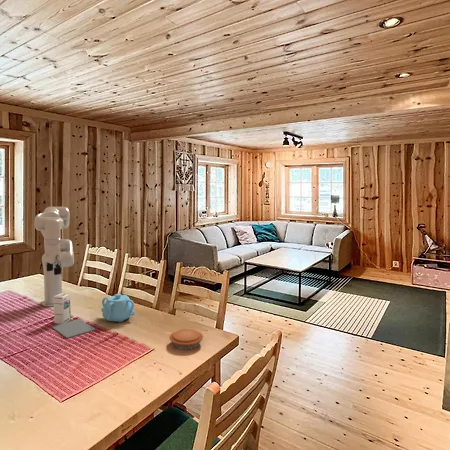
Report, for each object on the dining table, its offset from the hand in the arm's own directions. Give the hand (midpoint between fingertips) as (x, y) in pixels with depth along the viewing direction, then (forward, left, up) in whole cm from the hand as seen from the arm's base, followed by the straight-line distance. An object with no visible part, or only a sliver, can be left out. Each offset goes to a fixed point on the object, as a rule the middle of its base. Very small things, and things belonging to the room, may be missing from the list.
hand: (53, 272), depth 181 cm
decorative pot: (+27, +23, -24) cm, 43 cm away
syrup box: (+11, 0, -24) cm, 27 cm away
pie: (+76, +29, -25) cm, 85 cm away
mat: (+24, 0, -24) cm, 34 cm away
